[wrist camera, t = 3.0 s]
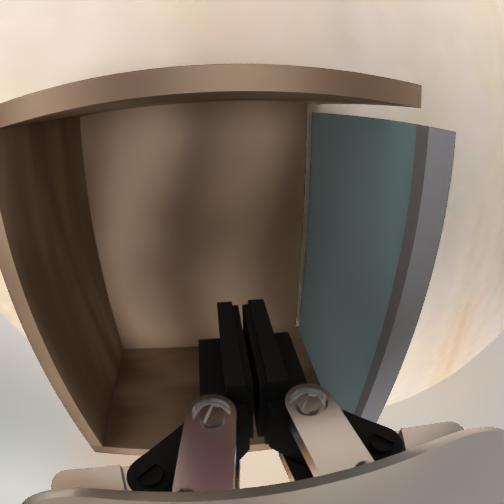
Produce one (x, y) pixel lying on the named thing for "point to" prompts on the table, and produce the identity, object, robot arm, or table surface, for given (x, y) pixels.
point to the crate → (158, 227)
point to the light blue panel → (370, 249)
